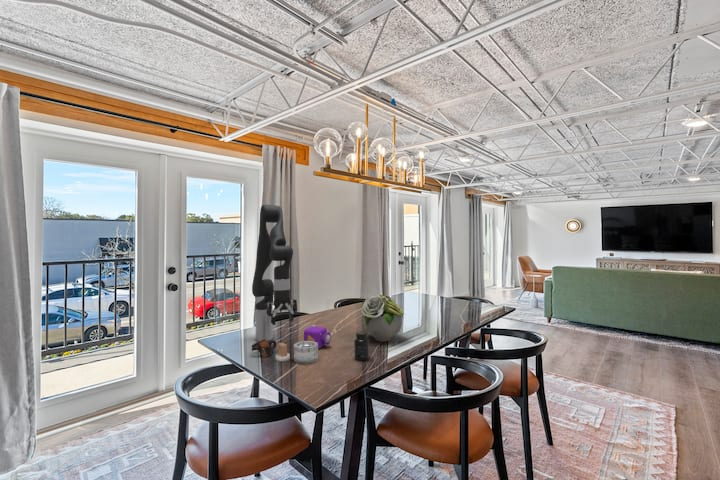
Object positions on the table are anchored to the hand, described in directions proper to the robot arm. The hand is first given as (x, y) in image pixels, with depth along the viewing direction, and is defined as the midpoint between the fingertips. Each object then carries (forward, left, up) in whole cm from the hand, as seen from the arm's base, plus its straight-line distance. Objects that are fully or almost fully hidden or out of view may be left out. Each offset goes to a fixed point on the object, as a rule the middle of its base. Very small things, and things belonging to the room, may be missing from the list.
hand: (282, 323), depth 159 cm
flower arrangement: (+7, +56, -17) cm, 59 cm away
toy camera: (-5, +22, -17) cm, 28 cm away
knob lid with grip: (0, 0, -17) cm, 17 cm away
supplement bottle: (+23, +29, -17) cm, 41 cm away
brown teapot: (-12, -4, -17) cm, 21 cm away
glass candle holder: (+8, +8, -17) cm, 20 cm away
